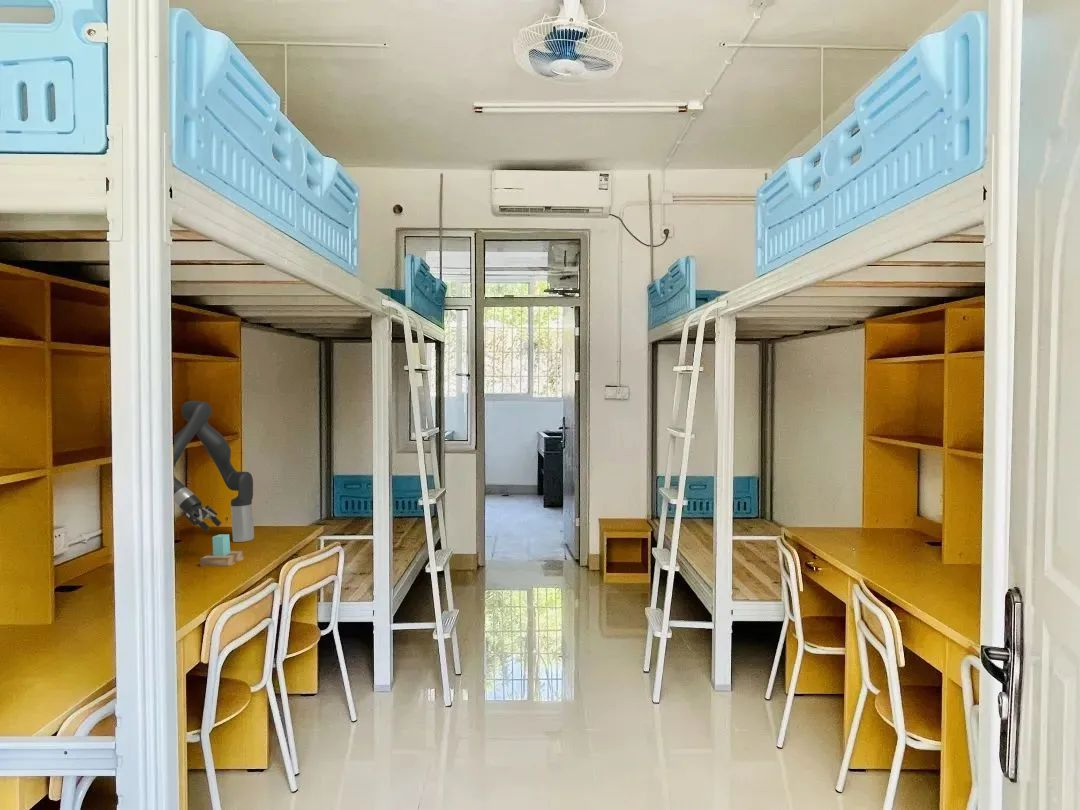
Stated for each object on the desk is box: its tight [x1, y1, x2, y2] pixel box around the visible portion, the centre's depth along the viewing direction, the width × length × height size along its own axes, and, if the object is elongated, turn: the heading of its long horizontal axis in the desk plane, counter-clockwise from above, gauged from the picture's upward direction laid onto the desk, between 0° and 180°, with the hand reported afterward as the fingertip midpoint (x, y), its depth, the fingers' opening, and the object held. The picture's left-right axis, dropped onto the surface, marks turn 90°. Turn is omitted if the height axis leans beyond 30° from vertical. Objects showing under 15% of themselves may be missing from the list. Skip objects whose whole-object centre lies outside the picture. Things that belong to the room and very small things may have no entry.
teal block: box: [212, 533, 231, 556], centre depth 279 cm, size 5×5×8 cm
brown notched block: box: [199, 550, 245, 568], centre depth 280 cm, size 12×12×4 cm
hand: (213, 527), depth 280 cm, fingers open, 8 cm apart
